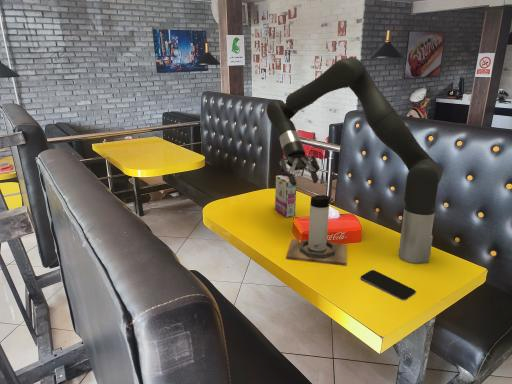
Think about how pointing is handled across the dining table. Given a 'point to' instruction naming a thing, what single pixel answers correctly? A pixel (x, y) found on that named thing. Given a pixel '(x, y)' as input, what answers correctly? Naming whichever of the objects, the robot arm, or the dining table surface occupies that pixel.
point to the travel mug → (318, 223)
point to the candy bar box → (285, 196)
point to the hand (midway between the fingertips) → (305, 183)
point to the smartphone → (388, 285)
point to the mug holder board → (331, 256)
